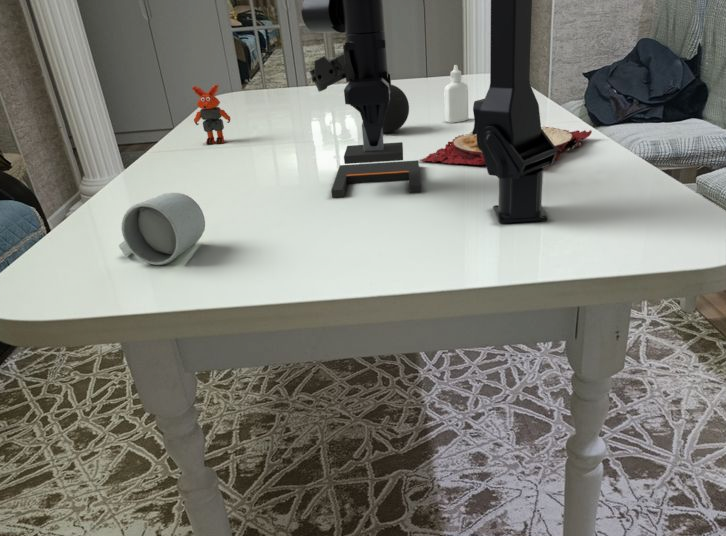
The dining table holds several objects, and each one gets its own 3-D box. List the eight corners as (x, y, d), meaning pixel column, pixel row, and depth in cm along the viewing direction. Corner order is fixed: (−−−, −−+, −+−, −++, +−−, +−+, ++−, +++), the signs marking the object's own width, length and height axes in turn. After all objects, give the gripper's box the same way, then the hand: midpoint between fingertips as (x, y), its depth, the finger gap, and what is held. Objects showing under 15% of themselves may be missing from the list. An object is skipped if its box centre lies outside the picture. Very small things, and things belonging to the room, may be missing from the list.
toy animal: (194, 147, 141) (182, 89, 135) (200, 142, 145) (188, 85, 140) (230, 144, 141) (219, 86, 135) (235, 139, 145) (224, 83, 140)
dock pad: (421, 192, 99) (420, 184, 99) (332, 197, 100) (331, 189, 99) (418, 167, 113) (418, 159, 112) (340, 172, 114) (339, 164, 113)
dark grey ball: (406, 136, 137) (404, 86, 132) (361, 137, 139) (357, 88, 134) (413, 126, 145) (410, 79, 140) (370, 128, 147) (366, 81, 142)
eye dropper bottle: (443, 120, 150) (442, 64, 144) (467, 118, 150) (466, 63, 144) (445, 123, 147) (444, 67, 141) (470, 121, 147) (469, 65, 141)
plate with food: (592, 141, 123) (593, 122, 122) (543, 170, 104) (544, 148, 103) (480, 136, 135) (480, 119, 133) (419, 161, 116) (418, 141, 115)
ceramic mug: (214, 242, 85) (201, 184, 81) (185, 265, 78) (168, 204, 74) (143, 242, 87) (127, 187, 83) (108, 265, 80) (89, 206, 76)
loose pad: (403, 160, 97) (401, 124, 94) (344, 164, 97) (340, 128, 95) (402, 149, 103) (400, 116, 101) (347, 153, 104) (344, 119, 101)
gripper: (316, 32, 100) (328, 135, 108) (300, 41, 84) (316, 161, 92) (387, 27, 100) (394, 130, 107) (385, 35, 83) (393, 156, 91)
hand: (374, 143), depth 99 cm, fingers closed on loose pad, 3 cm apart
